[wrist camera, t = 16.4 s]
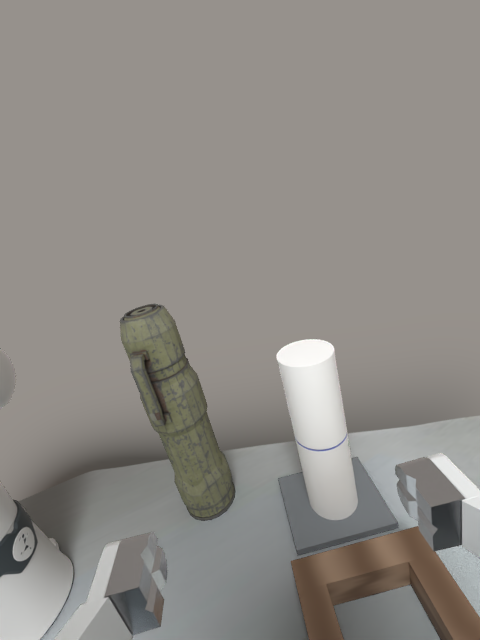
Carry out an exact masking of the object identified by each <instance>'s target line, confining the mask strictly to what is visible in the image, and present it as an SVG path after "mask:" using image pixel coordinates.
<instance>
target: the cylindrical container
mask: <svg viewBox="0 0 480 640" xmlns="http://www.w3.org/2000/svg"><path fill="white" fill-rule="evenodd" d="M276 357H277V362H278V366H279V370H280V375H281V379H282V384H283V388H284V392H285V397H286V401H287V406H288V409H289V414H290V419H291V423H292V427H293V431H294V435H295V440H296V445H297V449H298V454H299V458H300V462H301V467H302V471H303V476H304V480H305V484H306V489H307V493H308V497H309V501H310V505H311V507H312V509H313V510H314V511H315V512H316V513H317V514H318V515H320V516H321V517H323V518H326V519H329V520H342V519H345V518H347V517H349V516H350V515H352V513H353V512H354V511H355V509H356V508H357V504H358V497H357V491H356V485H355V478H354V472H353V465H352V459H351V453H350V446H349V440H348V433H347V428H346V421H345V415H344V408H343V402H342V396H341V390H340V383H339V377H338V371H337V365H336V359H335V352H334V347H333V346H332V344H330V343H329V342H327V341H323V340H318V339H308V340H301V341H297V342H293V343H291V344H288V345H287V346H285V347H283V348H282V349H280V351H279V352H278V353H277V356H276Z"/></svg>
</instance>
